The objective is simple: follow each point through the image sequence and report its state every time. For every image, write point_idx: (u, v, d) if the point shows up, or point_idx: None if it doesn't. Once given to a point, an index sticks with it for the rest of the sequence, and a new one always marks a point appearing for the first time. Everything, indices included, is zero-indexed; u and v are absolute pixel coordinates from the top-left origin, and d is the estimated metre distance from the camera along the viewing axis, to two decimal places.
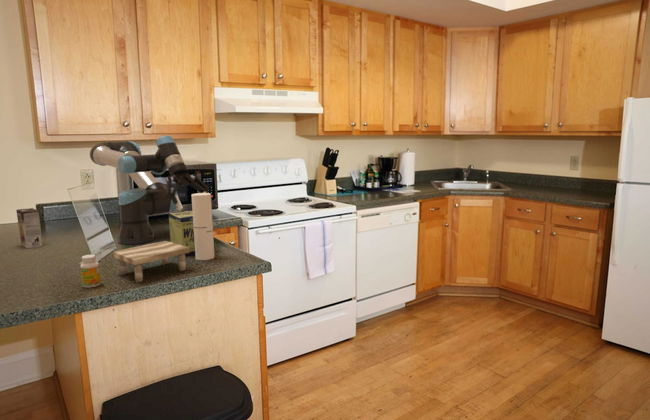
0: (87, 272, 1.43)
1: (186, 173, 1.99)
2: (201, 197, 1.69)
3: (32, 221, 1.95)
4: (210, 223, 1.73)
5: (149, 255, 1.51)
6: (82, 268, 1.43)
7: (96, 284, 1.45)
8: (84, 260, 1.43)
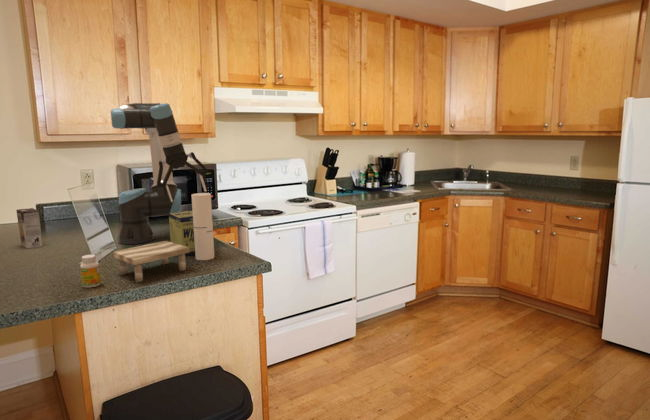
0: (87, 272, 1.43)
1: (182, 154, 1.76)
2: (201, 197, 1.69)
3: (32, 221, 1.95)
4: (210, 223, 1.73)
5: (149, 255, 1.51)
6: (82, 268, 1.43)
7: (96, 284, 1.45)
8: (84, 260, 1.43)
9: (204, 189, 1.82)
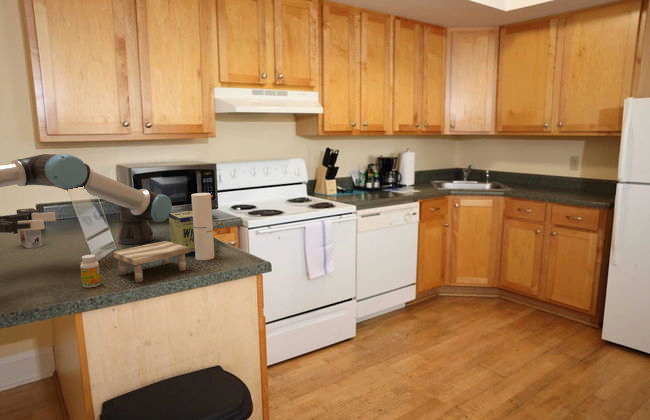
0: (87, 272, 1.43)
1: None
2: (201, 197, 1.69)
3: None
4: (210, 223, 1.73)
5: (149, 255, 1.51)
6: (82, 268, 1.43)
7: (96, 284, 1.45)
8: (84, 260, 1.43)
9: (41, 228, 1.34)
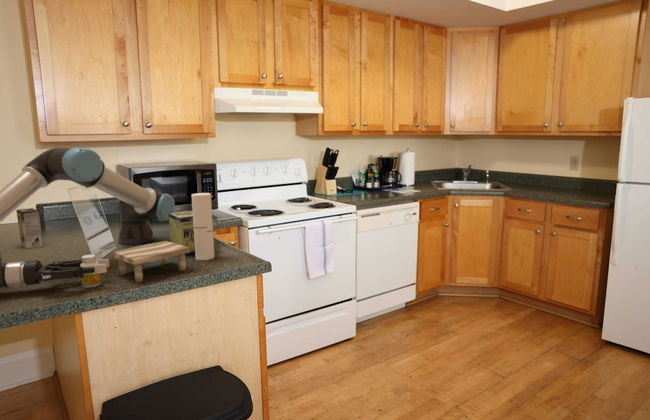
0: None
1: None
2: (201, 197, 1.69)
3: (32, 221, 1.95)
4: (210, 223, 1.73)
5: (149, 255, 1.51)
6: None
7: (96, 284, 1.45)
8: (84, 260, 1.43)
9: None
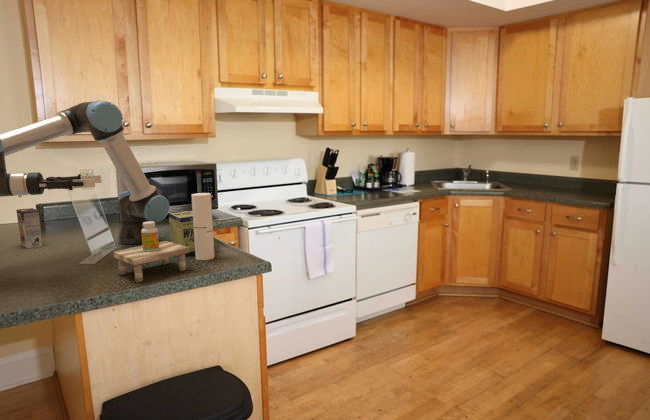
0: (148, 237, 1.55)
1: None
2: (201, 197, 1.69)
3: (32, 221, 1.95)
4: (210, 223, 1.73)
5: (149, 255, 1.51)
6: (143, 233, 1.55)
7: (155, 248, 1.57)
8: (145, 225, 1.55)
9: None
